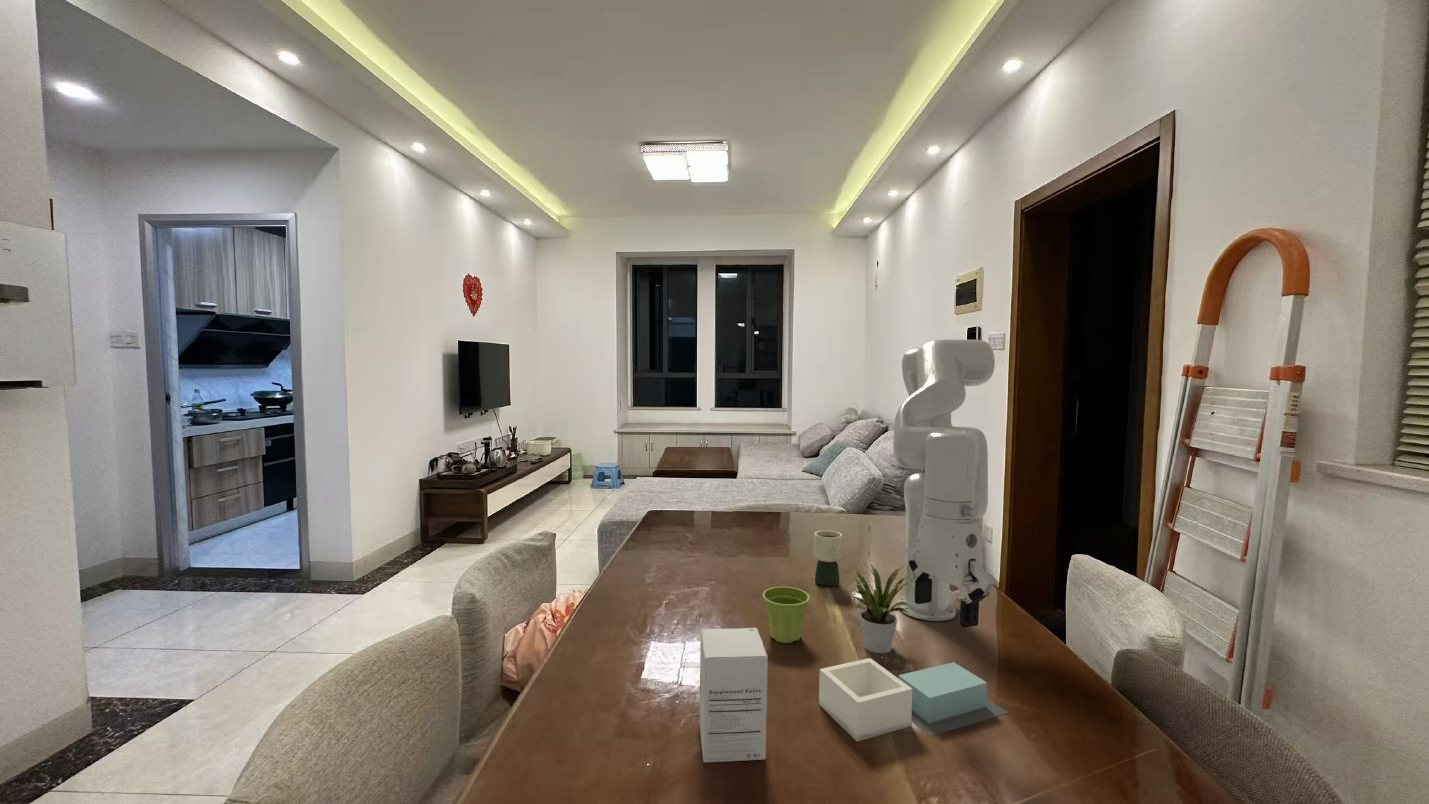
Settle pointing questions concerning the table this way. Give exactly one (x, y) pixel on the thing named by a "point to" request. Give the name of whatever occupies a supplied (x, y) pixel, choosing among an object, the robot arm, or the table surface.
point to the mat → (958, 719)
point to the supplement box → (733, 695)
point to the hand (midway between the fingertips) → (944, 613)
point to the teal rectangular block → (945, 691)
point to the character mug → (827, 556)
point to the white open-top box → (865, 698)
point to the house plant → (878, 612)
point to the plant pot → (785, 612)
